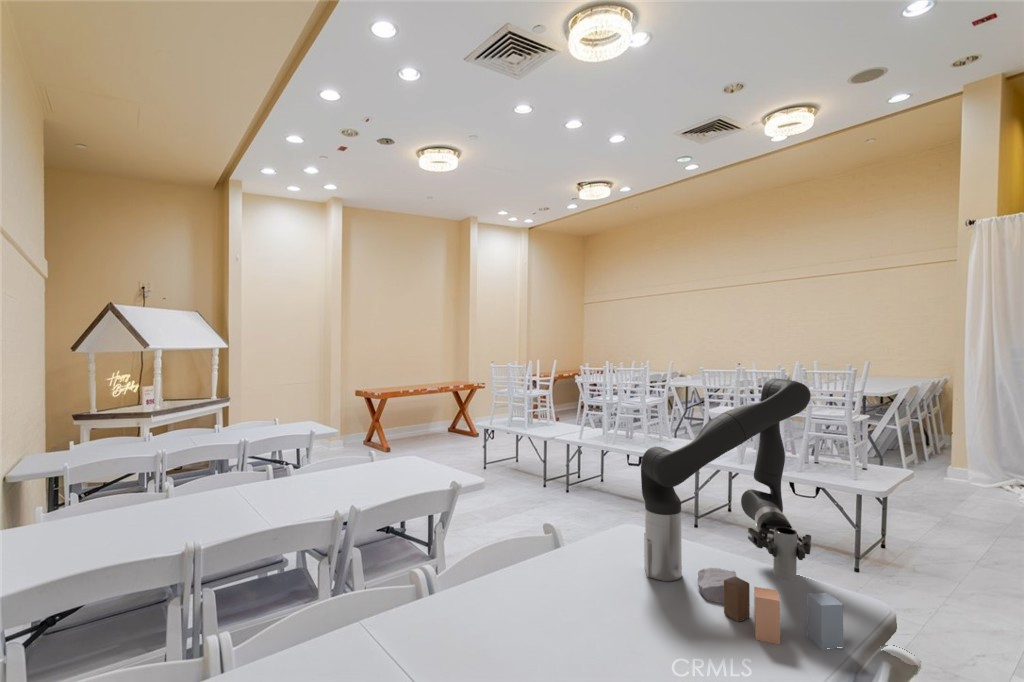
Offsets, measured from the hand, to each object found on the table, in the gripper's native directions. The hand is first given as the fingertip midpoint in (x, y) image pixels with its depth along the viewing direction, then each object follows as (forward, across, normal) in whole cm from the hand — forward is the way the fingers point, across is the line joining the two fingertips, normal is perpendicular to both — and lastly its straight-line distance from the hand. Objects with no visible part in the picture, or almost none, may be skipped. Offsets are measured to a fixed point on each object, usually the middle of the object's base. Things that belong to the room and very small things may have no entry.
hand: (787, 554), depth 110 cm
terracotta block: (+6, -5, +16) cm, 17 cm away
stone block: (-11, -13, +16) cm, 24 cm away
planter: (-3, 0, +6) cm, 7 cm away
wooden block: (0, -10, +16) cm, 19 cm away
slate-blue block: (+5, +6, +15) cm, 17 cm away
